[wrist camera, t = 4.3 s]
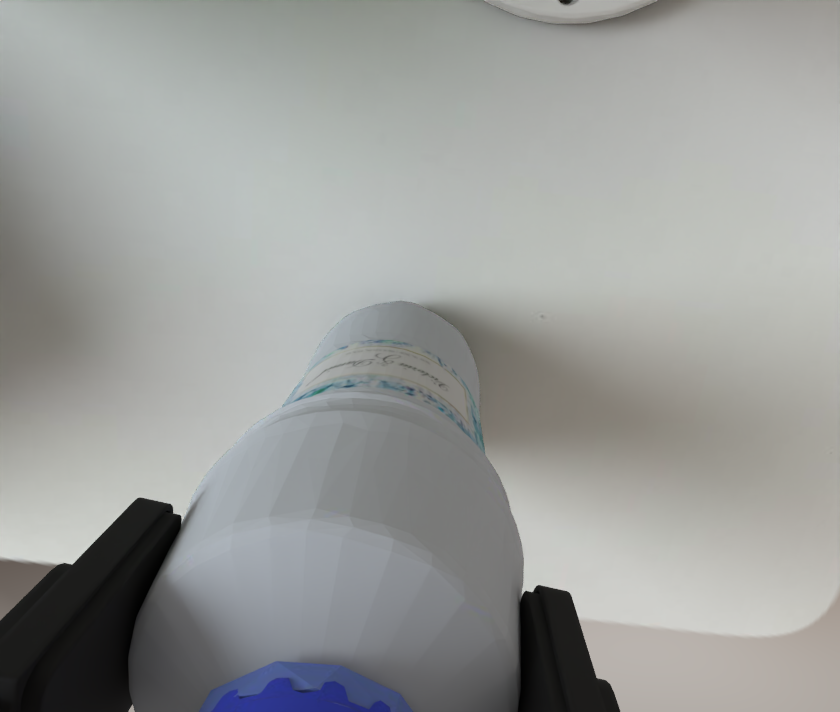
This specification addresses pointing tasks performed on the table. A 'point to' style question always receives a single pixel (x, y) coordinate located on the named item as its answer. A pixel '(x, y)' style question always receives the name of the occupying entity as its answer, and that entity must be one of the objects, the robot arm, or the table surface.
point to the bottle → (346, 546)
